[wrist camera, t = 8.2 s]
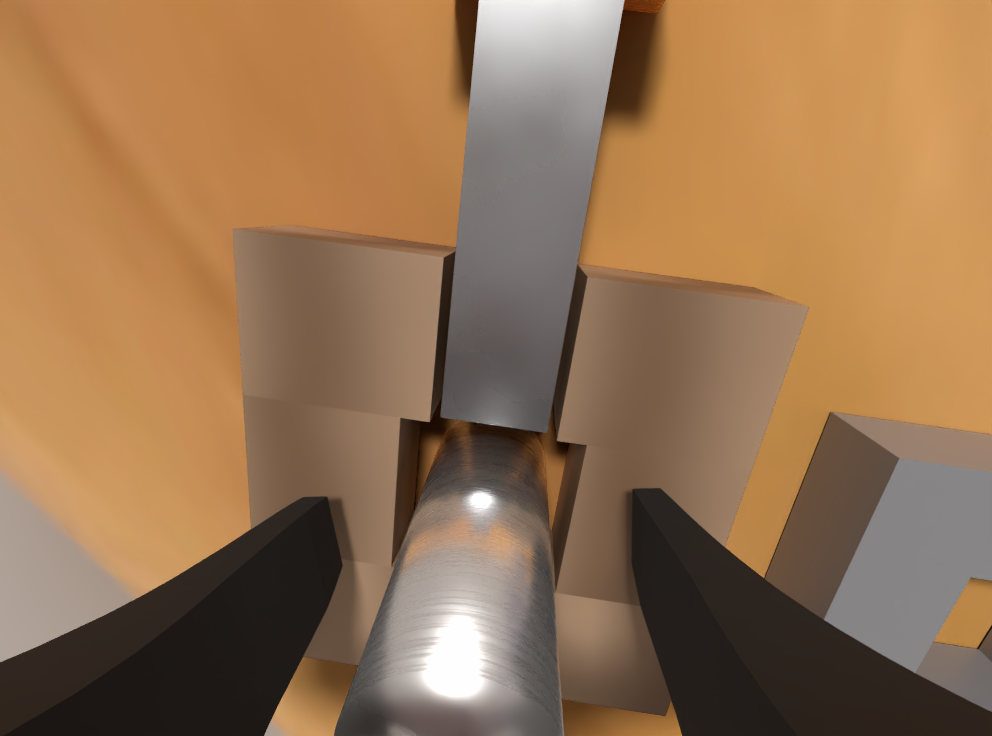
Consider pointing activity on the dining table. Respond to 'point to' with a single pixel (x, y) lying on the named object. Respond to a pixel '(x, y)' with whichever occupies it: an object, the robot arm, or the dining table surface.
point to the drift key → (525, 200)
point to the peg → (467, 602)
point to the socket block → (577, 410)
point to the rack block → (894, 542)
